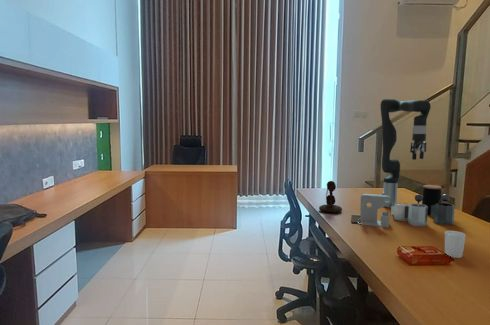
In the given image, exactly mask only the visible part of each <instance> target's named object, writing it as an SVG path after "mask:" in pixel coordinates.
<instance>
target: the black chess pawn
mask: <svg viewBox="0 0 490 325" xmlns="http://www.w3.org/2000/svg"><path fill="white" fill-rule="evenodd" d="M326 188H327V189H326V195H325V202H326V204H322V205H320V206H318V209H319V211H321V212H322V214H324V213H325V212H326V213H336V214H337V215H338V214H339V213H340V212H343V208H342V207H341V206H340V205H337V204H336V198H335V195H334V193H333V192H334V191H335V190H336V188H337V186H336V183H335V182H334V181H333V180H330V181H328V182H327V183H326ZM328 191H329V192H328ZM328 193H329V194H328Z"/></svg>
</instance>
